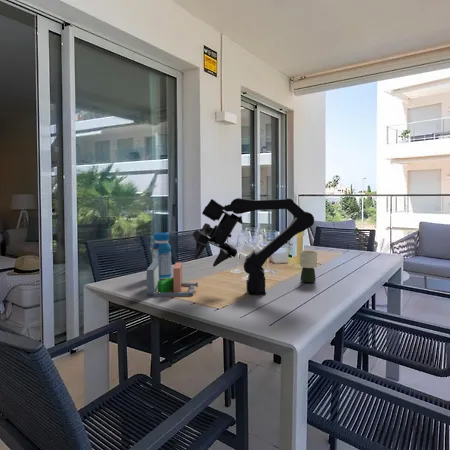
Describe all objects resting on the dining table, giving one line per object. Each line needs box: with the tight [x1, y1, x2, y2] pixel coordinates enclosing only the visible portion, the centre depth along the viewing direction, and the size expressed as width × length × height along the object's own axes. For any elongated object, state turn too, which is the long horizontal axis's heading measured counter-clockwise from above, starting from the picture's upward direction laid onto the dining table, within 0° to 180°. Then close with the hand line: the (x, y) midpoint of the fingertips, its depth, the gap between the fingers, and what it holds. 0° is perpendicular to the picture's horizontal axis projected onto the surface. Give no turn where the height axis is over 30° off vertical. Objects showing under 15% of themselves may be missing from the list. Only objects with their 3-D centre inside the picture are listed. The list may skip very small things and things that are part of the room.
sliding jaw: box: [172, 261, 199, 292], centre depth 140 cm, size 9×11×10 cm
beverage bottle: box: [151, 232, 172, 280], centre depth 160 cm, size 8×8×20 cm
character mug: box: [299, 250, 318, 283], centre depth 153 cm, size 11×7×13 cm, turn 133°
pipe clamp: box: [157, 276, 174, 293], centre depth 140 cm, size 11×4×5 cm, turn 162°
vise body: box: [145, 261, 195, 297], centre depth 140 cm, size 17×15×10 cm
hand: (204, 262), depth 138 cm, fingers open, 9 cm apart
